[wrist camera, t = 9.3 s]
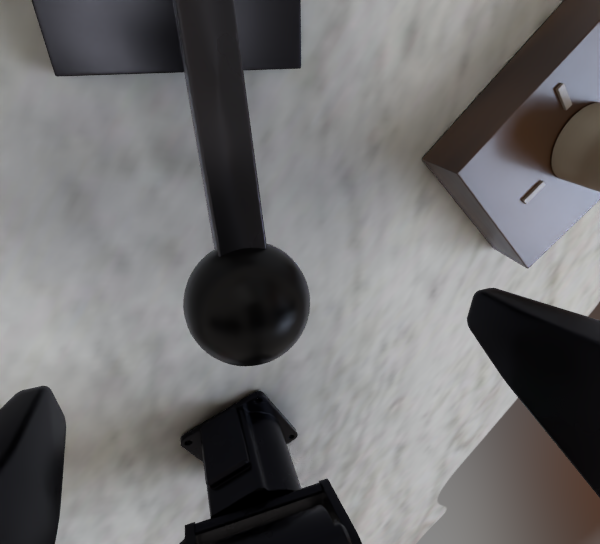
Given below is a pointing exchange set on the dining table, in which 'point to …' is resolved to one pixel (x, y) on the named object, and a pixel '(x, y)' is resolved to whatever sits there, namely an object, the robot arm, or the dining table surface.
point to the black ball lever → (233, 205)
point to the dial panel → (525, 138)
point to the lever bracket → (158, 35)
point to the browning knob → (579, 149)
